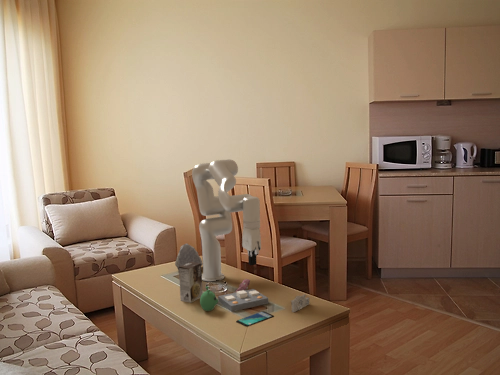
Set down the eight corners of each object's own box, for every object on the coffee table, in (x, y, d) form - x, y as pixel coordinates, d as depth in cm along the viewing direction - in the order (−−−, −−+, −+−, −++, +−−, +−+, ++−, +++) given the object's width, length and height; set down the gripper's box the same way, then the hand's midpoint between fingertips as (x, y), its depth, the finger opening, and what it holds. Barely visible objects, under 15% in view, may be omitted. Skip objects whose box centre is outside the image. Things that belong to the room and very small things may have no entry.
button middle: (236, 297, 208) (236, 291, 208) (243, 295, 210) (243, 290, 210) (240, 299, 205) (239, 293, 205) (247, 298, 207) (247, 292, 206)
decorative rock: (177, 273, 253) (176, 246, 251) (173, 270, 259) (172, 244, 257) (205, 268, 260) (204, 242, 259) (200, 265, 266) (199, 240, 264)
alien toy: (219, 312, 196) (218, 289, 195) (201, 314, 195) (200, 291, 194) (217, 306, 203) (216, 284, 202) (199, 308, 202) (198, 286, 200)
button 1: (224, 302, 206) (224, 296, 205) (231, 301, 207) (231, 295, 207) (227, 305, 203) (227, 299, 202) (235, 303, 204) (235, 297, 204)
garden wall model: (306, 303, 203) (306, 290, 203) (310, 304, 202) (310, 291, 202) (290, 312, 194) (290, 298, 194) (294, 313, 193) (294, 299, 193)
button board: (218, 301, 209) (218, 295, 209) (253, 294, 217) (253, 288, 217) (231, 311, 197) (231, 305, 196) (268, 303, 205) (268, 297, 204)
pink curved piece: (243, 298, 217) (249, 285, 215) (234, 293, 217) (240, 281, 216) (247, 291, 226) (253, 278, 225) (238, 286, 227) (244, 274, 225)
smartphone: (274, 315, 190) (246, 326, 181) (274, 317, 190) (246, 327, 181) (263, 310, 196) (235, 320, 186) (263, 312, 196) (235, 322, 186)
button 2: (248, 297, 211) (248, 291, 211) (255, 296, 213) (255, 290, 213) (252, 299, 208) (252, 294, 208) (259, 298, 210) (259, 292, 209)
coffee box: (192, 294, 219) (190, 261, 217) (203, 296, 216) (201, 262, 214) (179, 300, 212) (178, 266, 210) (191, 303, 208) (189, 268, 206)
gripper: (236, 222, 211) (237, 261, 214) (252, 228, 198) (252, 270, 201) (251, 220, 215) (252, 259, 217) (267, 226, 202) (268, 267, 204)
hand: (252, 264), depth 209 cm, fingers closed
